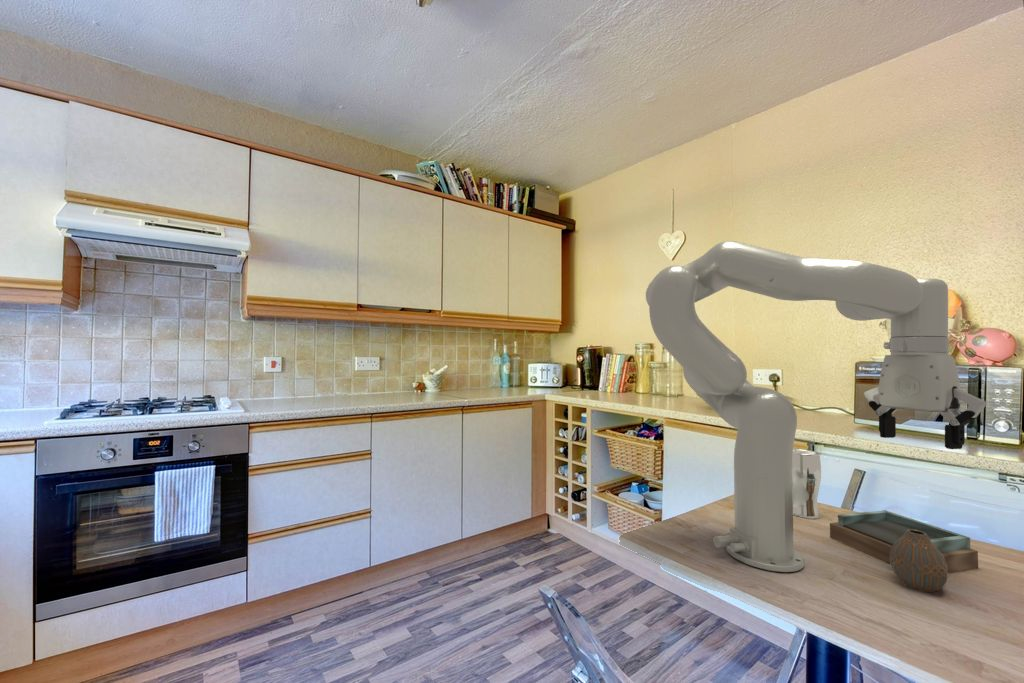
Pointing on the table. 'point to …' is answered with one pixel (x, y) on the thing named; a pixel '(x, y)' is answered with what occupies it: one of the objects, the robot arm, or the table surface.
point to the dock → (886, 527)
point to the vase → (918, 562)
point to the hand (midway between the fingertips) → (918, 442)
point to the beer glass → (806, 483)
